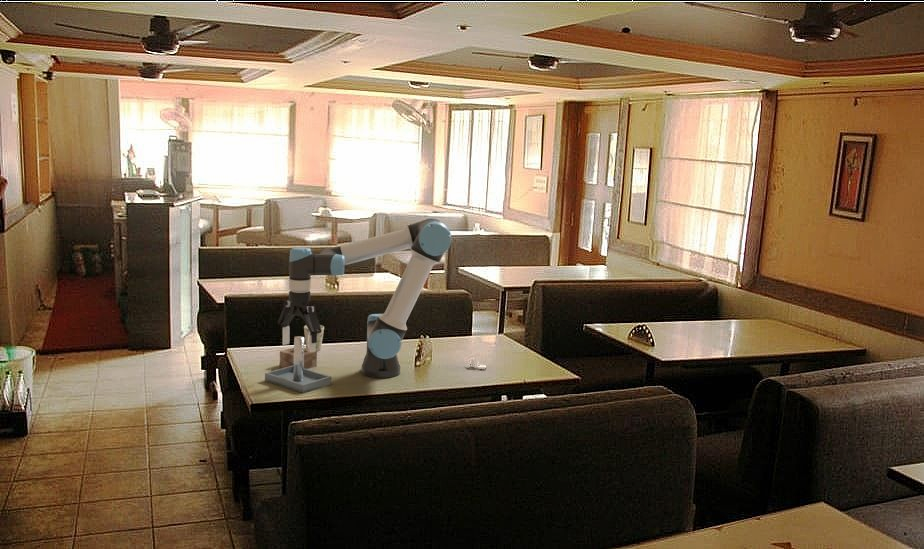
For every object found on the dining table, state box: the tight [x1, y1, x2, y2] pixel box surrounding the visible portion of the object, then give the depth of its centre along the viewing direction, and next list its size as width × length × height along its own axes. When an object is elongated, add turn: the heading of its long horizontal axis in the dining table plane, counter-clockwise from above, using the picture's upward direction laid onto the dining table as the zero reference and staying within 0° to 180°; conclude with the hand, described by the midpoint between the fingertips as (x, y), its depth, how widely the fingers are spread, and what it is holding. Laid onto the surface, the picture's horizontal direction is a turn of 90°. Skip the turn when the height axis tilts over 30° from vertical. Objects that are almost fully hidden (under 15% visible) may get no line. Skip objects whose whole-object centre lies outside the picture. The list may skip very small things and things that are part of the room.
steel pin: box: [293, 335, 305, 382], centre depth 277 cm, size 4×4×16 cm
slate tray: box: [264, 365, 333, 394], centre depth 278 cm, size 20×14×3 cm
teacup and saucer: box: [468, 357, 487, 370], centre depth 309 cm, size 9×8×4 cm
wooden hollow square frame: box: [279, 347, 318, 370], centre depth 298 cm, size 10×10×6 cm
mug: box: [303, 324, 325, 352], centre depth 320 cm, size 8×13×10 cm, turn 174°
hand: (298, 347), depth 276 cm, fingers open, 13 cm apart
